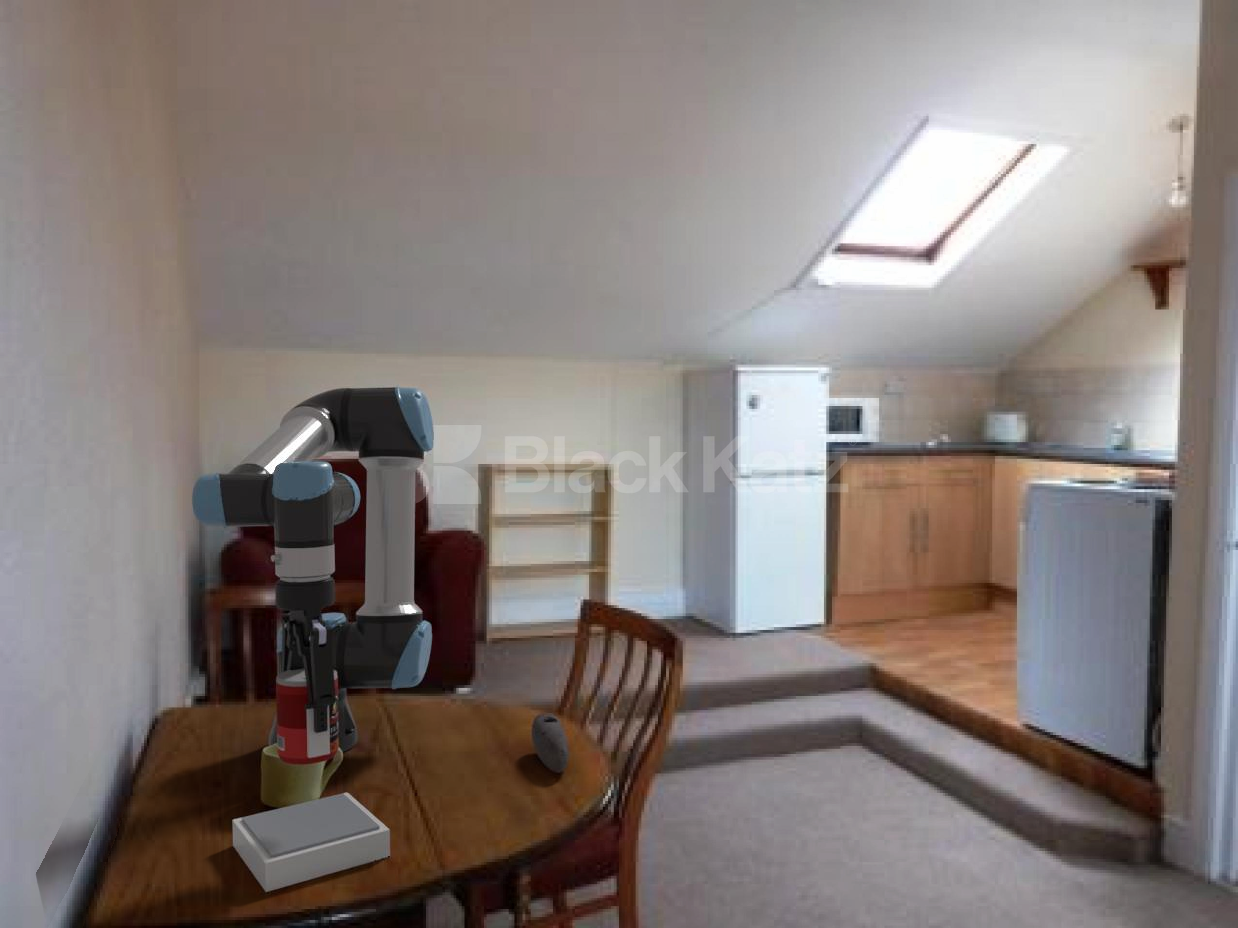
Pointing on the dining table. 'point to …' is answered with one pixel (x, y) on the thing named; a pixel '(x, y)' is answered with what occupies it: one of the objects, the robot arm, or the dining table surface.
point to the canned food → (299, 719)
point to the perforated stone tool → (550, 741)
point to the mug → (293, 779)
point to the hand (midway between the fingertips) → (308, 745)
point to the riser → (309, 840)
